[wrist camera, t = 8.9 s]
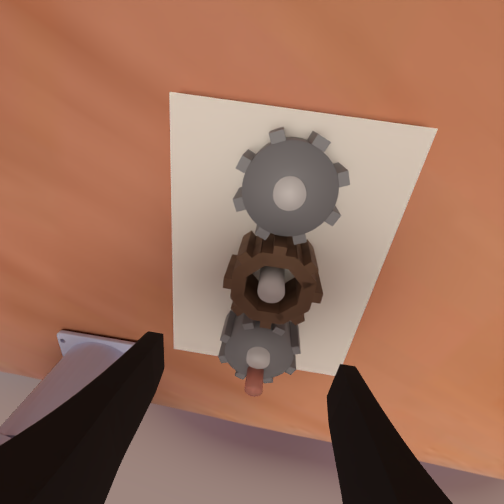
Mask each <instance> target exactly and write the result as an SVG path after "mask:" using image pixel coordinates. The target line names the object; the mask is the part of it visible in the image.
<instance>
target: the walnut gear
mask: <svg viewBox="0 0 504 504" xmlns="http://www.w3.org/2000/svg"><path fill="white" fill-rule="evenodd" d="M306 240H307V242H306V243H301V244H296V245H294V242H293V238H292V236H279V235H275V234H272V233H270V235H269V236H268V238H267V239H266V240H264V239H262V238H260V237H259V236H256V235H255V234H254V233H253V232H252V230H251V231H250V232H248V233H247V234H246V235H244V236H243V238H242V241H241V244H240V248H239V251H238V254H237V255H234V254H232V256H231V259H230V261H229V264H228V267H227V270H226V273H225V275H224V279H223V288H226V289H231V294H230V298H231V300H232V301H233V302H232V305H231V310H232V311H233V312H234V313H235V314H236V315H237V316H239V315H241V314H243V313H245V314H246V316H247V317H248V318H249V319H251V320H255V321H260V328H266V329H271V324H272V323H274V324H280V325H281V324H282V325H283V324H285V323H287V322H289V321H292V323H293V324H294V325H295V326H296V325H298V324H300V323H302V322H304V321H305V318H304V313H306V312H308V311H309V310H310V307H311V304H312V302H313V303H319V304H320V303H321V300H322V297H323V290H322V286H321V282H320V277H319V273H318V271H319V269H318V265H317V261H316V256H315V252H314V248H313V246H312V245H311V243H310V242H309V240H308V239H306ZM264 266H270V267H276V268H283V269H289V271H290V272H291V273H292V274H293V276H294V277H295V278H293V279H291V280H289V281H287V282H286V283H285V295H284V297H283V299H282V300H280V301H279V302H276V303H267V302H264V301H263V300H261V299H260V297H259V296H258V293H257V290H258V283H259V281H258V279H257V278H256V277H255V276H254V275H253V274H252V273H254V272H255V271H257V270H259V269H260V268H262V267H264Z"/></svg>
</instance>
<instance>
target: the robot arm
mask: <svg viewBox="0 0 504 504" xmlns="http://www.w3.org/2000/svg"><path fill="white" fill-rule="evenodd" d="M57 338H58V342H59V345H60V348H61V352H62V355H63V358H62V359H61V360H60V361H59V362H58V363H57V364H56V365H55V367H54V368H53V369H52V370H51V371H50V372H49V373H48V374H47V375H46V377H45V378H44V379H43V380H42V381H41V382H40V383H39V384H38V386H37V387H36V388H35V389H34V390H33V391H32V392H31V393H30V394H29V395H28V397H27V398H26V399H25V400H24V401H23V402H22V403H21V404H20V405H19V407H18V408H17V409H16V410H15V411H14V412H13V413H12V414H11V415H10V416H9V418H8V419H7V420H6V421H5V422H4V423H3V424H2V425H1V427H0V504H104V503H105V500H106V498H107V495H108V493H109V490H110V488H111V485H112V483H113V480H114V478H115V475H116V473H117V471H118V468H119V466H120V464H121V462H122V459H123V457H124V455H125V453H126V451H127V449H128V447H129V445H130V443H131V441H132V439H133V437H134V435H135V433H136V431H137V429H138V427H139V425H140V423H141V421H142V419H143V417H144V415H145V413H146V411H147V409H148V406H149V405H150V403H151V401H152V399H153V397H154V395H155V392H156V390H157V387H158V384H159V382H160V379H161V376H162V373H163V371H164V343H163V334H161V333H155V332H147V333H146V334H145V335H143V336H142V337H141V338H140V339H139V340H138V341H137V342H130V341H124V340H118V339H112V338H106V337H100V336H94V335H88V334H82V333H76V332H71V331H65V330H61V331H59V332H58V333H57ZM327 407H328V420H329V428H330V434H331V440H332V445H333V450H334V456H335V462H336V467H337V472H338V478H339V483H340V489H341V494H342V501H343V504H452V502H451V501H450V500H449V499H448V497H447V496H446V495H445V494H444V493H443V492H442V490H441V489H440V488H439V487H438V485H437V484H436V483H435V482H434V480H433V479H432V478H431V477H430V475H429V474H428V473H427V472H426V470H425V469H424V468H423V466H422V465H421V464H420V462H419V461H418V460H417V458H416V457H415V456H414V454H413V453H412V452H411V450H410V449H409V448H408V446H407V445H406V443H405V442H404V441H403V439H402V438H401V436H400V435H399V433H398V432H397V431H396V429H395V428H394V426H393V425H392V423H391V422H390V420H389V419H388V417H387V416H386V414H385V413H384V411H383V410H382V408H381V407H380V405H379V403H378V402H377V400H376V399H375V397H374V396H373V394H372V392H371V391H370V389H369V388H368V386H367V384H366V383H365V381H364V379H363V378H362V376H361V375H360V373H359V371H358V370H357V368H356V367H355V366H349V365H343V364H340V365H339V368H338V370H337V373H336V375H335V378H334V380H333V383H332V385H331V388H330V390H329V392H328V395H327Z"/></svg>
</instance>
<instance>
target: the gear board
mask: <svg viewBox="0 0 504 504" xmlns="http://www.w3.org/2000/svg"><path fill="white" fill-rule="evenodd" d="M436 132H437V129H435V128H428V127H421V126H413V125H406V124H399V123H392V122H385V121H377V120H370V119H363V118H356V117H348V116H341V115H334V114H327V113H319V112H312V111H305V110H298V109H291V108H283V107H276V106H269V105H262V104H254V103H247V102H240V101H233V100H225V99H218V98H211V97H204V96H196V95H189V94H182V93H175V92H170V151H171V211H172V271H173V331H174V349H179V350H184V351H190V352H196V353H202V354H208V355H214V356H218V357H219V359H220V362H221V363H227V362H228V363H229V364H230V366H231V367H232V368H234V369H235V370H236V373H235V376H236V377H238V378H240V379H244V378H245V377H246V383H245V392H246V393H247V394H248V395H250V396H259V395H261V394H262V389H263V382H264V383H272V382H273V377H275V376H278V375H280V374H282V373H284V372H286V373H288V374H290V375H291V374H292V373H293V372H294V371H295V370H296V369H297V370H303V371H309V372H315V373H321V374H327V375H332V376H335V375H336V373H337V370H338V368H339V365H340V364H343V362H344V360H345V357H346V355H347V352H348V350H349V347H350V345H351V342H352V340H353V337H354V335H355V332H356V330H357V327H358V325H359V322H360V320H361V317H362V315H363V313H364V310H365V308H366V305H367V303H368V300H369V298H370V295H371V293H372V290H373V288H374V285H375V283H376V280H377V278H378V275H379V273H380V270H381V268H382V266H383V263H384V261H385V258H386V256H387V253H388V251H389V248H390V246H391V243H392V241H393V238H394V236H395V233H396V231H397V228H398V226H399V223H400V221H401V219H402V216H403V214H404V211H405V209H406V206H407V204H408V201H409V199H410V196H411V194H412V191H413V189H414V186H415V184H416V181H417V179H418V176H419V174H420V172H421V169H422V167H423V164H424V162H425V159H426V157H427V154H428V152H429V149H430V147H431V144H432V142H433V139H434V137H435V134H436ZM251 230H252V232H253V233H254V234H255V235H256V236H259V237H260V238H262V239H264V240H266V239H267V238H268V236H269V235H270V233H272V234H275V235H279V236H292V238H293V242H294V245H296V244H301V243H306V242H307V240H306V239H308V240H309V242H310V243H311V245H312V246H313V248H314V252H315V256H316V261H317V265H318V269H319V271H318V273H319V277H320V282H321V286H322V290H323V297H322V300H321V303H320V304H319V303H313V302H312V304H311V307H310V310H309V311H308V312H306V313H304V318H305V321H304V322H302V323H300V324H298V325H296V326H295V325H294V324H293V323H292V321H289V322H287V323H285V324H283V325H282V324H281V325H280V324H274V323H272V324H271V329H266V328H260V321H255V320H251V319H249V318H248V317H247V316H246V314H245V313H243V314H241V315H239V316H237V315H236V314H235V313H234V312H233V311H232V310H231V305H232V302H233V301H232V300H231V298H230V294H231V289H226V288H223V279H224V275H225V273H226V270H227V267H228V264H229V261H230V259H231V256H232V254H234V255H237V254H238V251H239V248H240V244H241V241H242V238H243V236H244V235H246V234H247V233H248V232H250V231H251ZM252 274H253V275H254V276H255V277H256V278H257V279H258V281H259V283H258V290H257V293H258V296H259V297H260V299H261V300H263V301H264V302H267V303H276V302H279V301H280V300H282V299H283V297H284V295H285V283H286V282H287V281H289V280H291V279H293V278H295V277H294V276H293V274H292V273H291V272H290V271H289V269H283V268H276V267H270V266H264V267H262V268H260V269H259V270H257V271H255V272H254V273H252Z"/></svg>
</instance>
